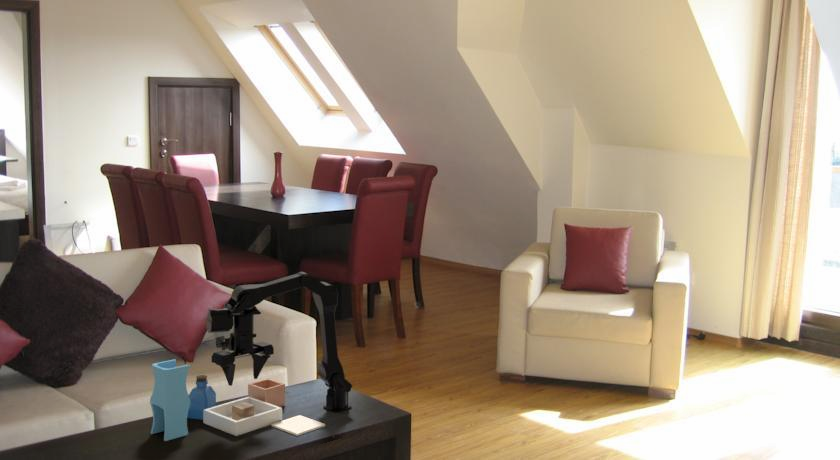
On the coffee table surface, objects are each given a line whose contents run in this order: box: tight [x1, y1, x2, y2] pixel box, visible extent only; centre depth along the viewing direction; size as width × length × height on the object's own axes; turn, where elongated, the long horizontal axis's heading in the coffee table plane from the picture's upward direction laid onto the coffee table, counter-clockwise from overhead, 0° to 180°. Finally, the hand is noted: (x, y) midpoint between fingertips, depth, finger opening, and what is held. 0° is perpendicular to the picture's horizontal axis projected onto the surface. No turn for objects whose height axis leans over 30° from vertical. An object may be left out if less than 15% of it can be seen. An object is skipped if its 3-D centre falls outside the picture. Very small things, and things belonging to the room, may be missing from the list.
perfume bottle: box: [187, 374, 217, 420], centre depth 259 cm, size 6×6×12 cm
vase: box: [149, 358, 191, 442], centre depth 244 cm, size 8×8×20 cm
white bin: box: [202, 396, 283, 437], centre depth 256 cm, size 17×15×4 cm
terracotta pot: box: [247, 378, 286, 408], centre depth 270 cm, size 8×8×7 cm
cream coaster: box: [270, 414, 326, 437], centre depth 254 cm, size 11×11×1 cm
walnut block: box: [232, 402, 254, 421], centre depth 255 cm, size 4×4×4 cm
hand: (243, 382), depth 254 cm, fingers open, 9 cm apart
